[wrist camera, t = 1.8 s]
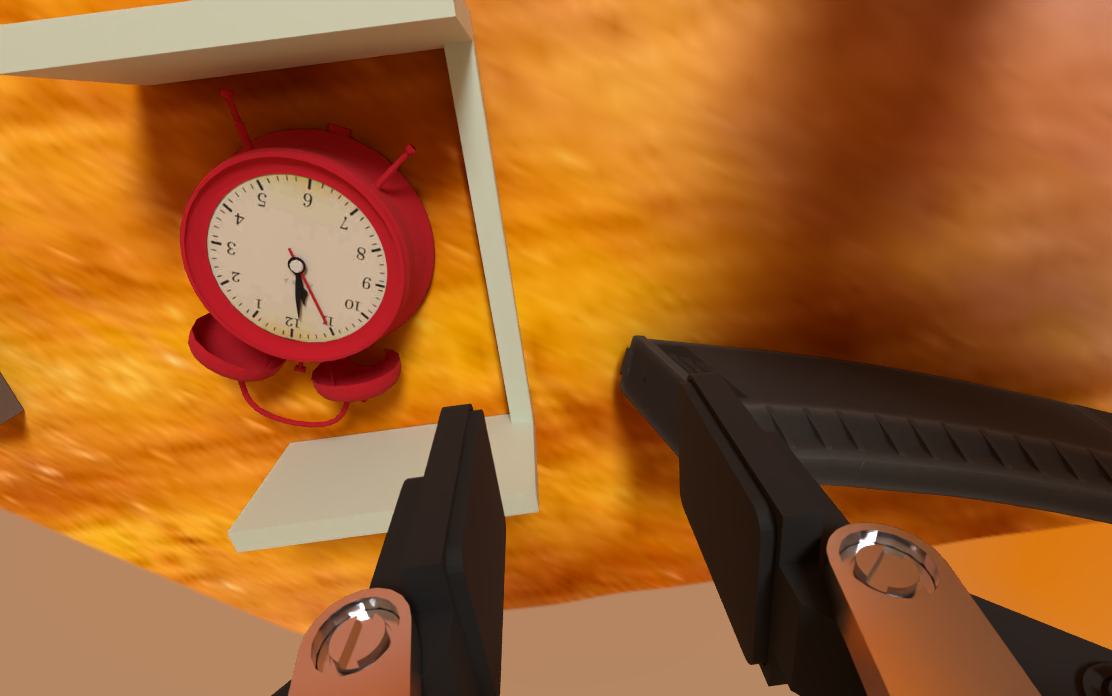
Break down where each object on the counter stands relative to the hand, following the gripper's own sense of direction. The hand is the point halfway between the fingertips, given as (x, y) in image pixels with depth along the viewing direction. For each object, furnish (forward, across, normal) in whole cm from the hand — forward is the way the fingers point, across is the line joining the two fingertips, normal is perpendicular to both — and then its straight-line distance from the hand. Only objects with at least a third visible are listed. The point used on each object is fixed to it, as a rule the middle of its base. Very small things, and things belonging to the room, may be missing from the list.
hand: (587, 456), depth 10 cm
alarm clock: (+18, +11, 0) cm, 21 cm away
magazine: (+18, -18, +11) cm, 27 cm away
